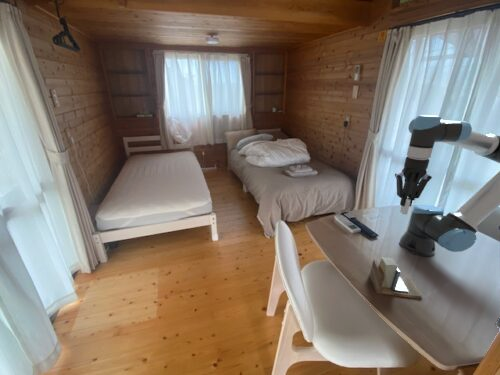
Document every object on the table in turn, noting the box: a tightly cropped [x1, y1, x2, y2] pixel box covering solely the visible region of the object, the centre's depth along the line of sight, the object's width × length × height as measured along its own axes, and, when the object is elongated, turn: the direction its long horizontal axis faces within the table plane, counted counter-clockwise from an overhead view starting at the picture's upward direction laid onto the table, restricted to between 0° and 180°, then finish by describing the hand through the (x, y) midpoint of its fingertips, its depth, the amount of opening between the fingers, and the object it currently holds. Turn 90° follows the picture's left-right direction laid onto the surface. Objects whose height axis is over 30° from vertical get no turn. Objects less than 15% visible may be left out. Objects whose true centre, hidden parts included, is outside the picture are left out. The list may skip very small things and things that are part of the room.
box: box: [378, 256, 398, 288], centre depth 95 cm, size 5×4×11 cm
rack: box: [369, 259, 423, 300], centre depth 96 cm, size 16×10×8 cm, turn 80°
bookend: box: [391, 267, 409, 293], centre depth 95 cm, size 6×8×9 cm
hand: (403, 212), depth 100 cm, fingers closed
